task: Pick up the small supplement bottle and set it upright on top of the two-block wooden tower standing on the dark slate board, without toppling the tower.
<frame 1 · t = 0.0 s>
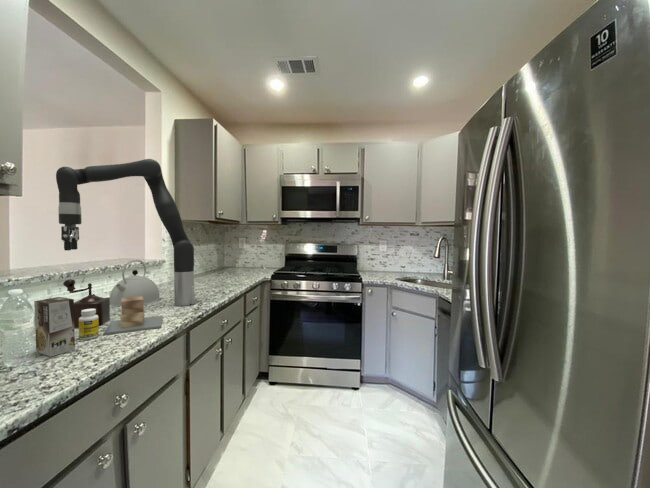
hand: (71, 249, 127), 29 cm above the worktop, fingers open, 8 cm apart
coffee box: (55, 351, 89), on the worktop
supplement bottle: (89, 337, 100), on the worktop
slate board: (135, 325, 114), on the worktop
hand-crank coffee grinder: (83, 324, 115), on the worktop
tower top: (132, 311, 113), point 6 cm above the worktop, touching tower base
kettle: (134, 302, 153), on the worktop
tower base: (132, 323, 113), point 1 cm above the worktop, touching slate board, tower top
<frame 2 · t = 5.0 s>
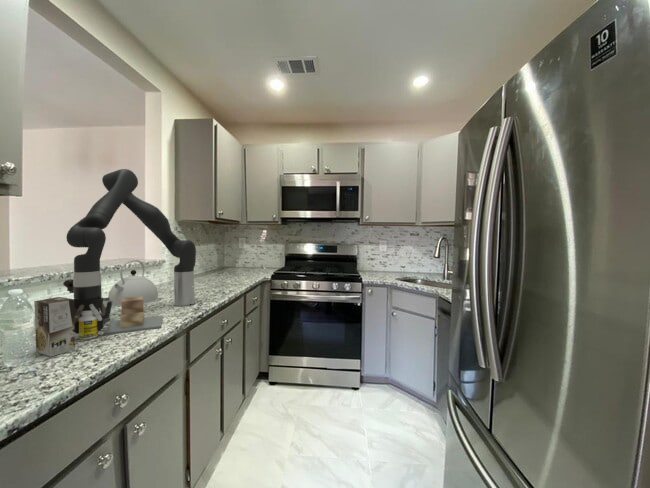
hand: (88, 331, 100), 2 cm above the worktop, fingers closed on supplement bottle, 5 cm apart
supplement bottle: (89, 337, 100), on the worktop, touching gripper
everything else where it was.
when the fingers open (14 cm above the worktop, at t = 10.5 s): supplement bottle drops 2 cm, resting on tower top.
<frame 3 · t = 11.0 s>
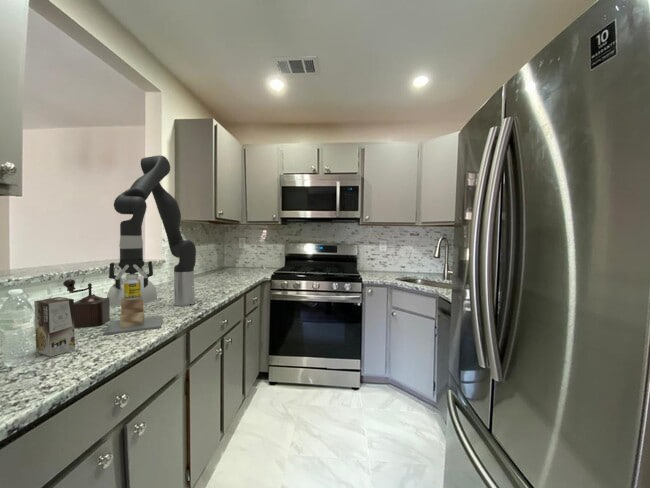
hand: (132, 288, 113), 15 cm above the worktop, fingers open, 8 cm apart
supplement bottle: (132, 299, 113), point 11 cm above the worktop, touching tower top
tower top: (132, 311, 113), point 6 cm above the worktop, touching supplement bottle, tower base
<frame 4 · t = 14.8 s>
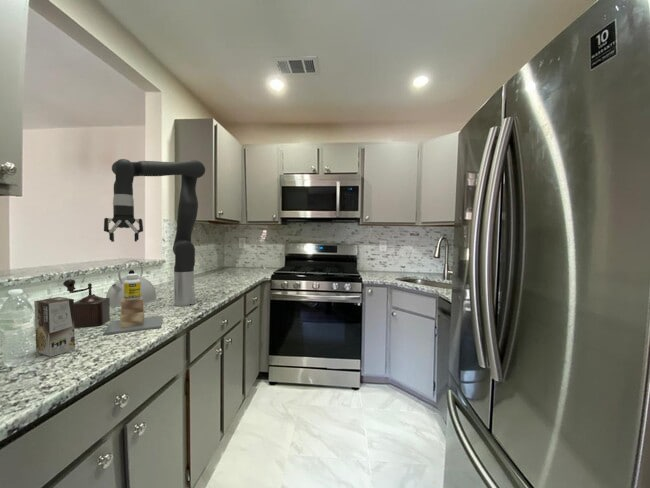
hand: (124, 241, 127), 33 cm above the worktop, fingers open, 8 cm apart
at the end: supplement bottle 0.1 cm off-centre on the tower base, point 9.8 cm above the tower base's base; supplement bottle tilted 0°; tower top moved 0.1 cm from its start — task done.
